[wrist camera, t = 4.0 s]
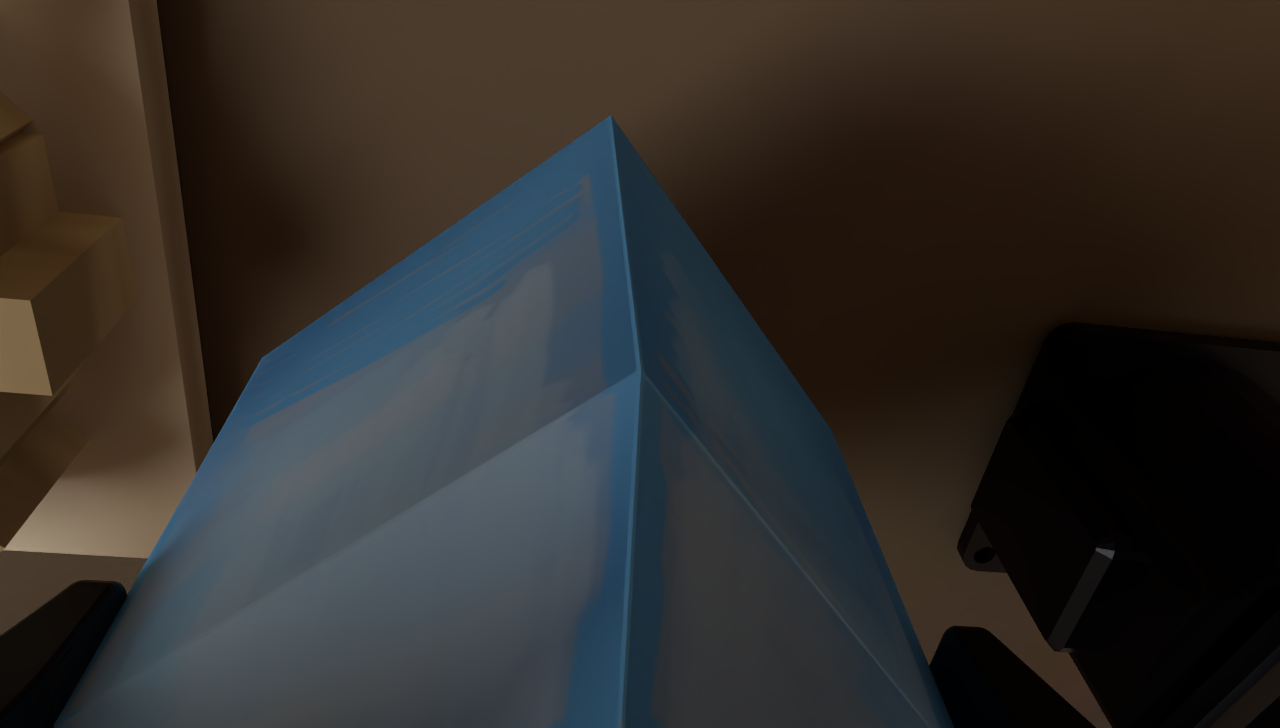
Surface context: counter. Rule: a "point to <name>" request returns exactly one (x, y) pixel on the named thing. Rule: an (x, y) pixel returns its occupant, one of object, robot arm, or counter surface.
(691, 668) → the perfume bottle
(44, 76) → the gear board
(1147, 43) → the counter surface
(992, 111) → the counter surface
